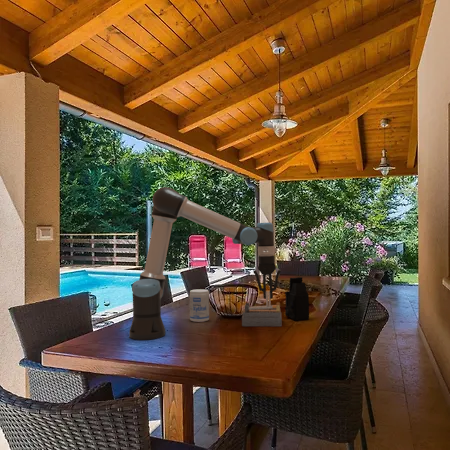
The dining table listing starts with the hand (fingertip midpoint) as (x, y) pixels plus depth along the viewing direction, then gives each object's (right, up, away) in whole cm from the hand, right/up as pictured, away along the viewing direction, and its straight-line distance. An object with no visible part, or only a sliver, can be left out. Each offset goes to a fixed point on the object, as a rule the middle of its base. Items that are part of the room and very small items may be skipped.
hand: (268, 305), depth 198 cm
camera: (+15, -8, +10) cm, 20 cm away
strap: (-3, -1, 0) cm, 3 cm away
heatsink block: (-3, -8, 0) cm, 9 cm away
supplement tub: (-33, -9, +10) cm, 36 cm away
